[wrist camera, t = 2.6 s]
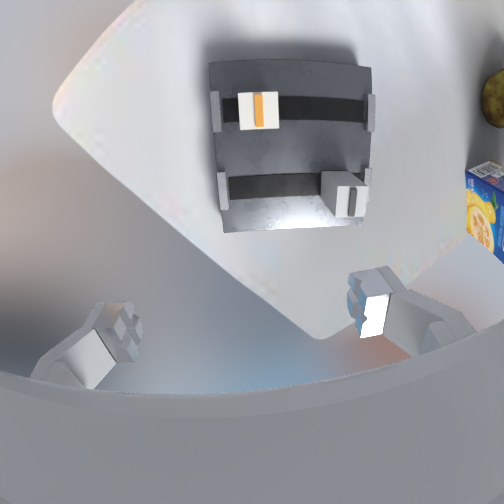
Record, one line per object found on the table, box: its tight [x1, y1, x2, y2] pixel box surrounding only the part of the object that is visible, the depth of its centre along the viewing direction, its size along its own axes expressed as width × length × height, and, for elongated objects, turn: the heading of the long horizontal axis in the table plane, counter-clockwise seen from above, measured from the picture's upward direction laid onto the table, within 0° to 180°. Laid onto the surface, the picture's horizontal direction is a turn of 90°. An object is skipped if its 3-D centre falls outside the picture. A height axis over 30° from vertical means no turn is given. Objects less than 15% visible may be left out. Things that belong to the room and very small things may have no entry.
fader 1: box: [238, 92, 279, 130], centre depth 21 cm, size 3×3×5 cm
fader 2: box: [321, 171, 368, 218], centre depth 25 cm, size 3×3×5 cm
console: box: [209, 59, 375, 233], centre depth 27 cm, size 18×16×4 cm
